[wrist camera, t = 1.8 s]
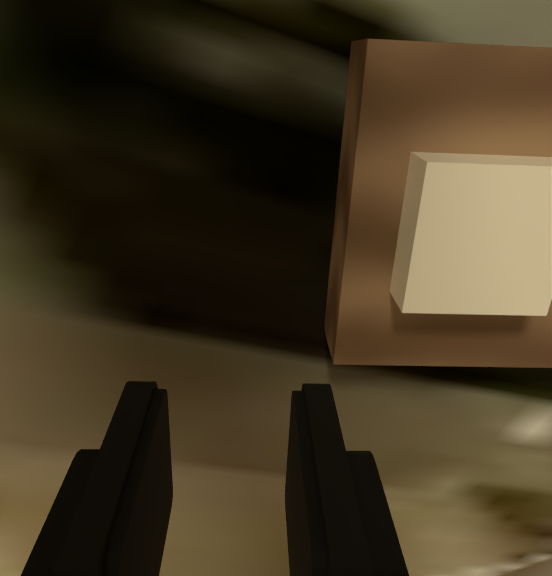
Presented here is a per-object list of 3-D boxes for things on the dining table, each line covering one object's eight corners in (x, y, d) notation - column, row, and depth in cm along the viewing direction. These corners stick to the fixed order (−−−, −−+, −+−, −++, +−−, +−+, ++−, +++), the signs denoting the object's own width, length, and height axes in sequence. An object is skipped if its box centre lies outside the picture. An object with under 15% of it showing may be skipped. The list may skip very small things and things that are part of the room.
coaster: (410, 151, 23) (427, 162, 21) (559, 157, 23) (591, 167, 21) (389, 291, 26) (402, 312, 24) (522, 294, 26) (546, 316, 24)
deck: (351, 41, 24) (368, 38, 21) (666, 56, 25) (734, 56, 22) (324, 328, 31) (333, 364, 27) (573, 333, 32) (614, 368, 28)
